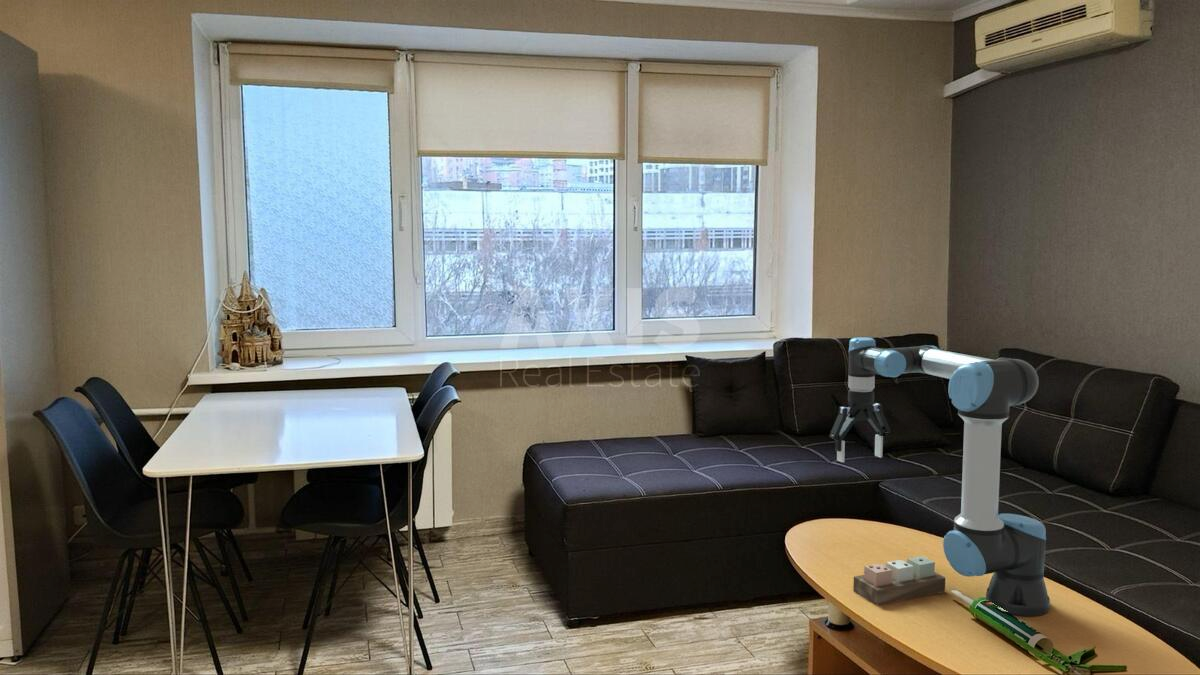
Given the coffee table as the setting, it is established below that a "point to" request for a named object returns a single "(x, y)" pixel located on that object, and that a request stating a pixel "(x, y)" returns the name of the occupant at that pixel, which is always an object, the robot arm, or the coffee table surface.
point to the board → (899, 589)
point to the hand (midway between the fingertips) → (859, 459)
